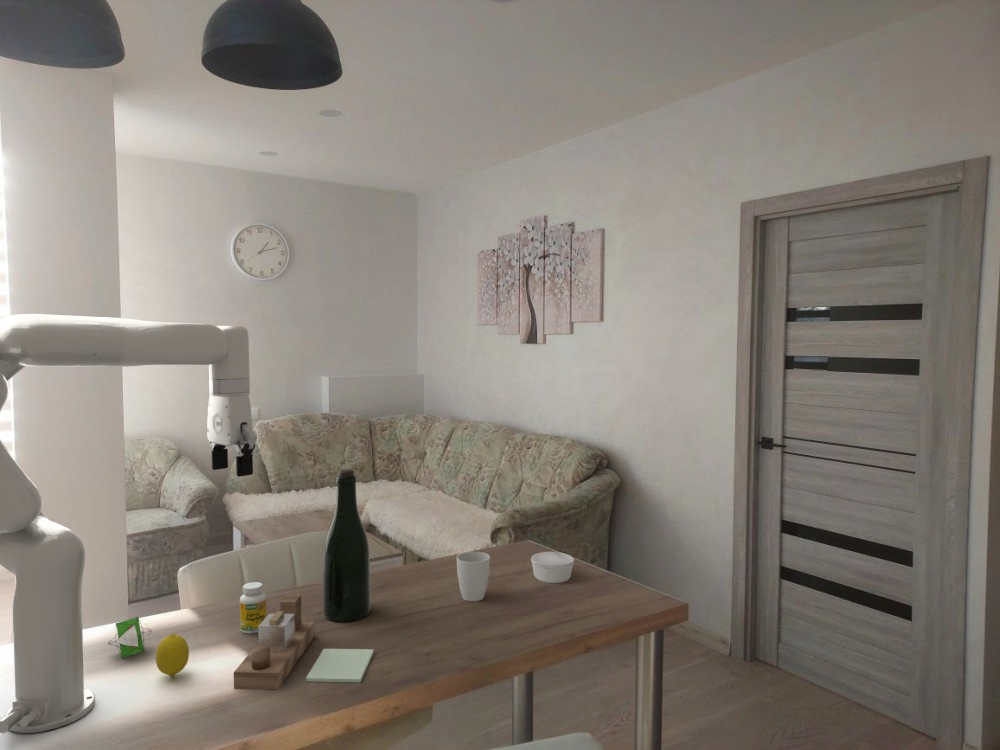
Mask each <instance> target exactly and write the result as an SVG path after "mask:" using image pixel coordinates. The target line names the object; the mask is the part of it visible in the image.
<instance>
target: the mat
mask: <svg viewBox="0 0 1000 750" xmlns="http://www.w3.org/2000/svg"><path fill="white" fill-rule="evenodd" d="M374 651H375V650H374V649H372V648H371V649H370V648H369V649H366V648H365V649H364V648H360V649H359V648H323V649H322V651H321V652H320V654H319V656H318V658H317V659H316V661H315V662H314V664H313V666H312V667H311V669H310V671H309V672H308V673H307V676H306V677H305V682H315V683H317V682H318V683H319V682H320V683H321V682H323V683H361V681H362V680H363V677H364V675H365V673H366V671H367V668H368V666H369V664H370V662H371V659H372V657H373V655H374V653H375V652H374Z"/></svg>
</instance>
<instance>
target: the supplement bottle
mask: <svg viewBox="0 0 1000 750" xmlns="http://www.w3.org/2000/svg"><path fill="white" fill-rule="evenodd" d="M263 590H264V588H263V583H262V582H258V581H257V582H255V581H254V582H253V581H252V582H248V583H245V584H243V586H242V593H243V594H242V595H241V596H240V598H239V623H240V624H239V625H240V626H239V628H240V631H241V632H242V633H244V634H249V635H251V634H257V633H258V626H259V625H260V624H261V623H262V621H263V620H264V619H265V618H266V617H267V595H266V594H265V592H263Z"/></svg>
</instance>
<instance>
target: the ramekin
mask: <svg viewBox="0 0 1000 750" xmlns="http://www.w3.org/2000/svg"><path fill="white" fill-rule="evenodd" d="M530 561H531V564H532V571H533V576H534V577H535V578H536V580H538V581H539V582H543V583H547V584H559V583H565V582H567V581H569V580H570V578H571V576H572V571H573V566H574V564H575V558H574V557H573V556H572V555H570V554H567V553H563V552H559V551H542V552H537V553H535V554H533V555H532V556H531V557H530Z"/></svg>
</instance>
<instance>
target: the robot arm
mask: <svg viewBox="0 0 1000 750" xmlns="http://www.w3.org/2000/svg"><path fill="white" fill-rule="evenodd" d="M249 339H250V338H249V331H248V329H247V327H245V326H243V325H230V324H229V325H227V324H225V325H224V324H223V325H214V324H209V323H193V322H191V323H189V322H188V323H187V322H185V323H184V322H166V321H165V322H164V321H154V320H153V321H152V320H151V321H150V320H143V319H142V320H141V319H134V318H133V319H132V318H124V317H123V318H122V317H103V316H87V315H86V316H85V315H84V316H83V315H82V316H81V315H67V314H66V315H65V314H64V315H63V314H61V315H60V314H42V313H27V314H24V313H23V314H11V315H7V316H5V317H2V318H0V412H1V411H2V409H3V407H4V406H5V404H6V402H7V400H8V397H9V390H10V388H9V387H10V386H9V382H8V381H10V380H11V379H12V378H14V377H15V376H16V375H17V374H18V373H20V371H21V370H23V369H25V367H40V368H41V367H42V368H43V367H46V368H47V367H50V368H51V367H53V368H54V367H55V368H59V367H61V368H62V367H63V368H64V367H126V368H129V367H140V366H158V365H159V366H161V365H162V366H163V365H164V366H166V365H169V366H170V365H173V366H174V365H177V366H181V365H184V366H188V365H190V366H197V365H200V366H205V365H206V366H208V376H209V377H208V379H209V383H208V385H209V397H208V406H207V418H206V419H207V425H206V426H207V429H206V431H207V432H206V433H207V435H206V436H207V440H208V442H209V443H210V446H209V448H210V450H211V468H212V469H211V470H213V471H217V470H218V471H219V470H224V469H228V468H229V457H228V456H229V454H228V453H229V452H228V450H229V449H228V448H226V447H232V446H234V449H235V451H236V453H237V455H236V456H235V462H236V464H235V466H236V468H235V471H236V476H237V477H239V478H240V477H246V476H251V475H253V474H254V461H253V455H254V454H255V451H254V450H255V448H256V442H257V433H256V432H255V431H254V430H253V416H252V407H251V400H250V394H251V382H250V381H251V380H250V376H251V375H250V343H249V342H250V341H249ZM0 566H2V567H3V568H5V570H8V572H11V573H12V574H13V575H14V576H15V590H14V594H13V595H14V596H13V602H12V603H13V604H12V630H13V633H12V634H13V657H14V658H13V659H14V662H13V663H14V687H15V688H14V689H15V690H14V691H15V693H14V695H15V696H14V697H15V699H13V700H12V706H11V707H10V709H8V710H7V711H6V712H5V715H4V717H3V718H2V719H0V733H1V734H6V732H8V731H10V732H14V733H19V734H20V733H21V734H33V733H41V732H46V731H50V730H55V729H57V728H61V727H64V726H66V725H69V724H71V723H74V722H75V721H77V720H79V719H81V718H82V717H84V716H85V715H87V714H88V713H89V712H90V711H91V710H92V709H93V708H94V706H95V702H96V697H95V696H96V695H95V693H94V692H93V691H92V690H91V689H88V688H85V687H84V684H85V683H84V682H85V681H84V680H85V679H84V677H85V676H84V642H83V639H84V638H83V610H82V609H83V606H82V605H83V604H82V601H83V600H82V594H83V593H82V592H83V591H82V589H83V588H82V587H83V578H84V573H85V566H86V549H85V547H84V544H83V541H82V540H81V538H80V537H79V536H78V535H77V534H76V533H75V532H74V531H73V530H71V529H70V528H68V527H66V526H64V525H61V524H59V523H57V522H54V521H51V520H50V519H48V517H47V516H46V515H45V514H44V513H43V511H42V496H41V494H40V491H39V489H38V487H37V486H36V484H35V483H34V482H33V481H32V480H31V478H29V476H28V475H27V474H26V473H25V472H24V470H23V469H22V467H21V466H20V464H18V462H17V461H16V459H14V457H13V456H12V455H11V453H10V451H8V449H7V447H6V445H5V444H4V442H3V441H2V439H1V438H0Z"/></svg>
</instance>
